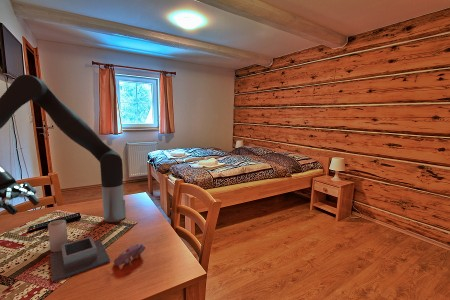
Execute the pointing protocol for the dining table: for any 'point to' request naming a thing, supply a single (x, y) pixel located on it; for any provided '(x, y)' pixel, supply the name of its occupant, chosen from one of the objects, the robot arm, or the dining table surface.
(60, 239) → the paper roll
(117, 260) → the video game controller
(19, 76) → the robot arm
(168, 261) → the dining table surface
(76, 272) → the roll holder
